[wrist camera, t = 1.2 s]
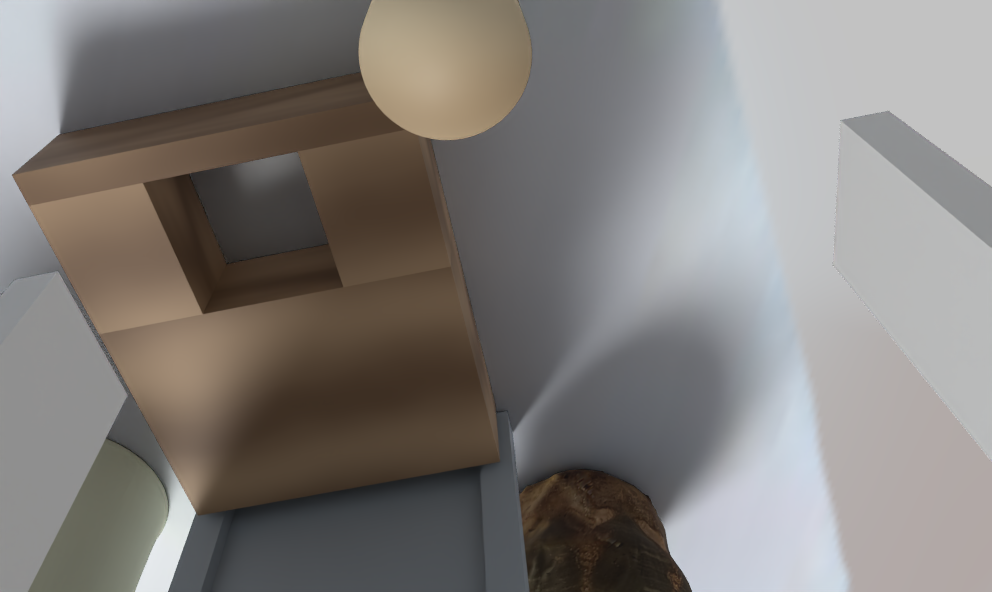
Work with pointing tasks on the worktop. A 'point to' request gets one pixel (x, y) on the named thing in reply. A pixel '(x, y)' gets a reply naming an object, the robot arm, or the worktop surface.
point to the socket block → (275, 297)
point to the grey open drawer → (371, 537)
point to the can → (107, 527)
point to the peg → (445, 63)
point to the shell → (595, 537)
